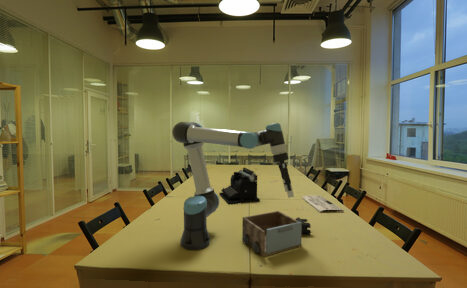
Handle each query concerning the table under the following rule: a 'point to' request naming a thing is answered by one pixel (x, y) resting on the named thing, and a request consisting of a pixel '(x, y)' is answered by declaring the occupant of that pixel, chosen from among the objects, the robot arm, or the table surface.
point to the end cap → (304, 226)
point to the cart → (263, 229)
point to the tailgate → (283, 237)
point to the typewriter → (241, 188)
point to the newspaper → (321, 203)
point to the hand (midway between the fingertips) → (289, 194)
